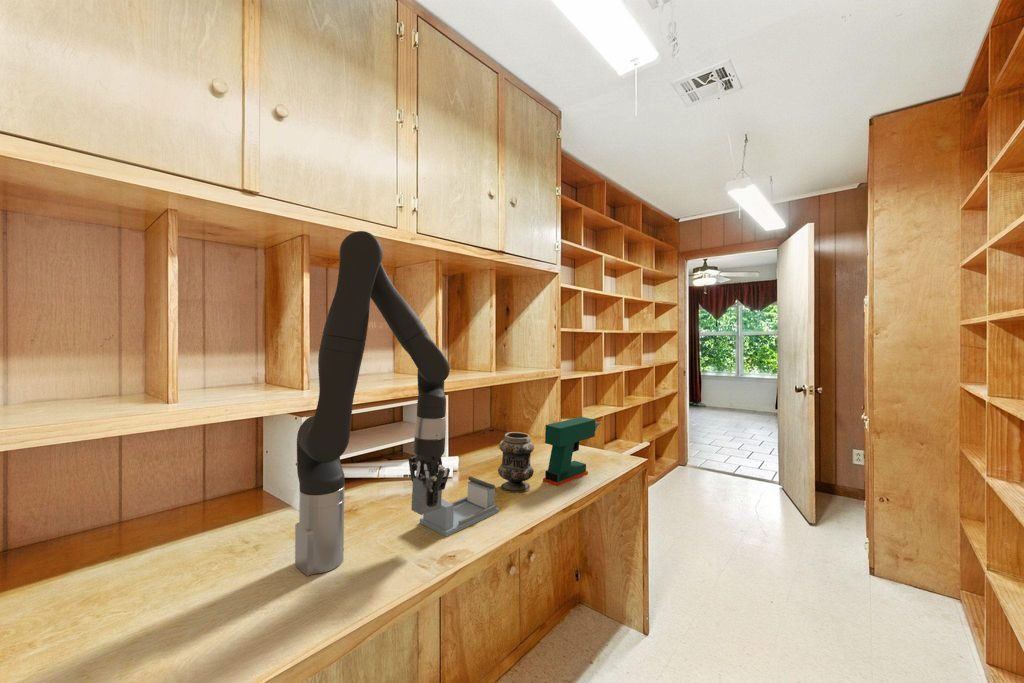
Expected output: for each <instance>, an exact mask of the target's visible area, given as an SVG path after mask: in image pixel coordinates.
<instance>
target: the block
mask: <svg viewBox="0 0 1024 683" xmlns="http://www.w3.org/2000/svg"><path fill="white" fill-rule="evenodd" d="M434 477H435V476H432V477H431V478H434ZM440 485H441V484H440ZM433 486H435V481H434V482H433ZM429 492H430V491H429V483H428V482H427V480H426V476H425V475H424V476H420V477H413V482H412V492H411V509H410V510H411V511H413V512H415V513H417V514H418V515H421V516H423V515H424V514H426V513H429V512H432V511H435V510H437V509H440V508H441V499H442V496H443V495H442V493H443V490H440V491H438V502H437V505H436V506H433V507H429V506H428V496H429Z"/></svg>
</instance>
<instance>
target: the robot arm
mask: <svg viewBox="0 0 1024 683" xmlns="http://www.w3.org/2000/svg"><path fill="white" fill-rule="evenodd" d="M383 252H384V251H383V248H382V244H381V243H380V241H379V240H378V238H376V236H375V235H373V234H372V233H370V232H368V231H365V230H357V231H353V232H351V233H349V234H348V235H347V236H346V237H345V238H344V239H343V240H342V242H341V243H340V247H339V264H338V265H339V266H338V275H337V283H336V288H335V289H336V290H335V292H334V296H333V299H332V302H331V305H330V306H329V310H328V314H327V316H326V318H325V323H324V328H323V330H322V336H321V339H320V345H319V350H318V358H317V361H318V362H317V364H318V365H317V366H318V370H317V371H318V385H319V386H318V388H319V390H318V393H319V394H318V401H317V404H316V409H315V413H314V415H311V416H310V417H307V418H306V419H305V420H304V421H302V423H301V425H300V427H299V429H298V430H297V431H298V432H297V435H296V470H297V478H298V481H299V482H298V483H299V507H298V508H299V514H298V515H299V516H298V517H299V518H298V519H299V520H298V521H299V522H296V523H295V525H294V526H295V528H294V530H295V532H294V534H295V536H294V541H295V542H294V548H295V550H294V565H295V567H296V568H297V569H298V570H300V571H301V572H302V573H304V575H305V576H307V577H308V576H311V575H315V574H322V573H327V572H329V571H332V570H334V569H336V568H339V566H340V565H342V563H343V561H344V551H345V547H344V545H345V544H344V543H345V542H344V541H345V536H344V535H345V473H344V470H343V466H342V463H341V456H342V455H343V454H344V453H345V451H346V449H347V448H348V445H349V443H350V438H351V437H350V436H351V429H352V428H351V425H352V413H353V405H354V404H353V403H354V397H355V392H356V389H357V385H358V382H359V381H358V380H359V376H360V370H361V366H362V361H363V358H364V353H365V352H364V351H365V347H366V343H367V336H368V335H367V334H368V328H369V319H370V304H371V301H372V302H373V303H374V305H375V306H376V307H377V309H378V310H379V312H380V314H381V316H382V317H383V319H384V321H385V322H386V324H387V325H388V327H389V329H390V330H391V332H392V333H393V335H394V336H395V338H396V339H397V341H398V342H399V344H400V346H401V347H402V348H403V349H404V351H405V352H406V353H407V354H408V355H409V357H410V358H411V360H412V362H413V363H414V365H415V367H416V368H417V392H418V393H417V394H418V396H417V403H416V420H415V423H414V424H415V426H414V437H413V438H414V440H413V441H414V442H413V454H414V455H415V456H412V457H409V458H408V465H409V472H410V480H411V482H412V483H413V477H420V476H424V475H425V476H426V480H427V482H428V483H429V491H430V492H429V496H428V506H429V507H433V506H436V505H437V502H438V491H440V490H442V491H443V490H445V488H446V485H447V482H448V479H449V476H450V471H451V469H450V468H449V467H445V466H443V461H442V456H443V455H444V453H445V451H446V449H445V448H446V433H447V432H446V431H447V428H446V427H447V424H446V423H447V422H446V411H447V410H446V409H447V397H446V394H445V381H446V380H447V379H448V377H449V375H450V373H451V372H450V370H451V369H450V368H451V367H450V364H449V361H448V360H447V358H446V356H445V355H444V354H443V352H442V350H441V349H439V347H438V345H437V344H436V343H435V341H434V340H433V339H432V338H431V336H430V334H429V333H428V330H427V329H426V327H425V325H424V324H423V323H422V321H421V319H420V318H419V316H418V314H417V313H416V312H415V310H414V309H413V308H412V307H411V305H410V304H409V303H408V302H407V301H406V300H405V299H404V297H403V296H402V295H401V294H400V292H399V291H398V290H397V289H396V287H395V285H394V284H393V282H392V281H391V279H390V278H389V276H388V274H387V272H386V269H385V267H384V266H383V263H382V261H383V258H384V257H383V256H384V253H383ZM432 476H435V477H434V478H431V477H432ZM434 481H435V486H433V482H434ZM440 484H441V485H440Z"/></svg>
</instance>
